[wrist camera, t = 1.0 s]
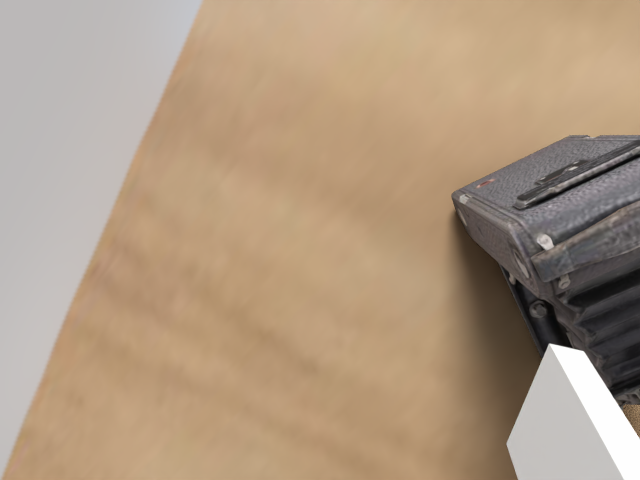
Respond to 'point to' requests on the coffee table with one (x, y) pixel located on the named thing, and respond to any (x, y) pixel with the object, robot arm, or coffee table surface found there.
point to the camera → (570, 248)
